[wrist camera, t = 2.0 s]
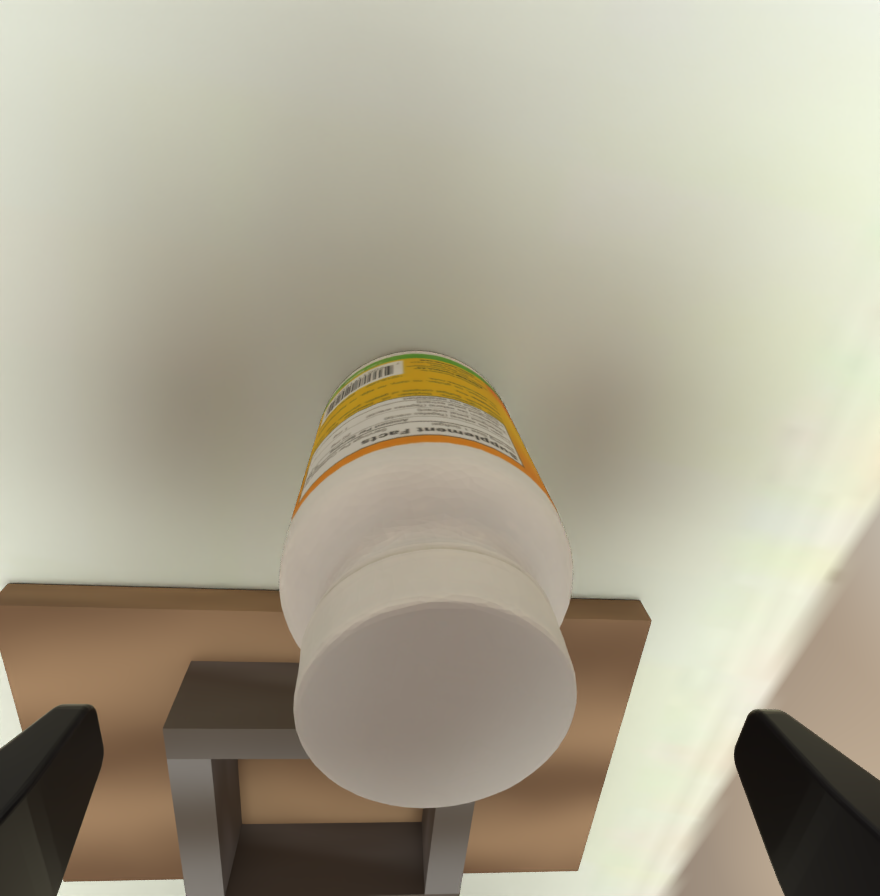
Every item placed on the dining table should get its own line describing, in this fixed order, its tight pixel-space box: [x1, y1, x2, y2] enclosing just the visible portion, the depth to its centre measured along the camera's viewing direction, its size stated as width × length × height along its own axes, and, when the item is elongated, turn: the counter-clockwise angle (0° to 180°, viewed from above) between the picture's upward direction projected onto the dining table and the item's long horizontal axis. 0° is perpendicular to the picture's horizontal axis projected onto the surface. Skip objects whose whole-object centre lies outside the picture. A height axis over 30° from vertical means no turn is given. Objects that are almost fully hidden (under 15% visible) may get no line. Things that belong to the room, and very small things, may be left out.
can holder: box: [0, 584, 652, 896], centre depth 20 cm, size 13×20×4 cm, turn 85°
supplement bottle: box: [279, 351, 577, 808], centre depth 13 cm, size 5×5×10 cm
